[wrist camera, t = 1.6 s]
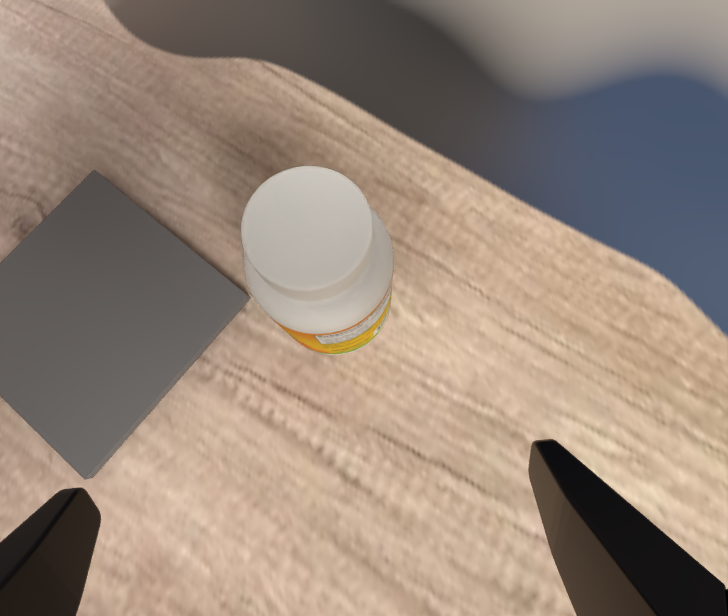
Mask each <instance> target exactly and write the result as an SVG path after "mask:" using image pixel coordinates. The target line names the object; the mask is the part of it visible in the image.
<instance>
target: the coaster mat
mask: <svg viewBox="0 0 728 616" xmlns="http://www.w3.org/2000/svg"><path fill="white" fill-rule="evenodd" d="M249 299H250V297H249V296H248V295H246V294H245V293H244V292H243V291H242V290H240V289H239V288H238V287H237V286H235V285H234V284H233V283H232V282H231V281H229V280H228V279H227V278H226V277H224V276H223V275H222V274H221V273H220V272H218V271H217V270H216V269H215V268H214V267H212V266H211V265H210V264H209V263H207V262H206V261H205V260H204V259H203V258H201V257H200V256H199V255H198V254H196V253H195V252H194V251H193V250H192V249H190V248H189V247H188V246H187V245H185V244H184V243H183V242H182V241H181V240H179V239H178V238H177V237H176V236H175V235H173V234H172V233H171V232H170V231H168V230H167V229H166V228H165V227H164V226H162V225H161V224H160V223H159V222H157V221H156V220H155V219H154V218H153V217H151V216H150V215H149V214H148V213H147V212H145V211H144V210H143V209H142V208H140V207H139V206H138V205H137V204H136V203H134V202H133V201H132V200H131V199H129V198H128V197H127V196H126V195H125V194H123V193H122V192H121V191H120V190H118V189H117V188H116V187H115V186H114V185H112V184H111V183H110V182H109V181H108V180H106V179H105V178H104V177H103V176H101V175H100V174H99V173H98V172H97V171H95V170H93V171H92V172H91V173H90V174H89V175H88V176H87V177H86V178H85V179H84V180H83V181H82V182H81V183H80V184H79V185H78V186H77V187H76V188H75V189H74V190H73V191H72V192H71V193H70V194H69V195H68V196H67V197H66V198H65V199H64V200H63V201H62V202H61V203H60V204H59V205H58V206H57V207H56V208H55V209H54V210H53V211H52V212H51V213H50V214H49V215H48V216H47V217H46V218H45V219H44V220H43V221H42V222H41V223H40V224H39V225H38V226H37V227H36V228H35V229H34V230H33V231H32V232H31V233H30V234H29V235H28V236H27V237H26V238H25V239H24V240H23V241H22V242H21V243H20V244H19V245H18V246H17V247H16V248H15V249H14V250H13V251H12V252H11V253H10V254H9V255H8V256H7V257H6V258H5V259H4V260H3V261H2V262H1V263H0V396H1V397H2V398H3V399H4V400H5V401H6V402H7V403H8V404H9V405H10V406H11V407H12V408H13V409H14V410H15V411H16V412H17V413H18V414H19V415H20V416H21V417H22V418H23V419H24V420H25V421H26V422H27V423H28V424H29V425H30V426H31V427H32V428H33V429H34V430H35V431H36V432H37V433H38V434H39V435H40V436H41V437H42V438H43V439H44V440H45V441H46V442H47V443H48V444H49V445H50V446H51V447H52V448H53V449H54V450H56V451H57V452H58V453H59V454H60V455H61V456H62V457H63V458H64V459H65V460H66V461H67V462H68V463H69V464H70V465H71V466H72V467H73V468H74V469H75V470H76V471H77V472H78V473H79V474H80V475H81V476H82V477H83V478H84V479H89V478H93V477H94V476H95V474H96V473H97V472H98V471H99V470H100V469H101V468H102V467H103V465H104V464H105V463H106V462H107V461H108V460H109V459H110V457H111V456H112V455H113V454H114V453H115V452H116V451H117V449H118V448H119V447H120V446H121V445H122V444H123V443H124V441H125V440H126V439H127V438H128V437H129V436H130V435H131V434H132V432H133V431H134V430H135V429H136V428H137V427H138V426H139V424H140V423H141V422H142V421H143V420H144V419H145V418H146V416H147V415H148V414H149V413H150V412H151V411H152V410H153V409H154V407H155V406H156V405H157V404H158V403H159V402H160V401H161V399H162V398H163V397H164V396H165V395H166V394H167V393H168V391H169V390H170V389H171V388H172V387H173V386H174V385H175V383H176V382H177V381H178V380H179V379H180V378H181V377H182V376H183V374H184V373H185V372H186V371H187V370H188V369H189V368H190V366H191V365H192V364H193V363H194V362H195V361H196V360H197V358H198V357H199V356H200V355H201V354H202V353H203V352H204V350H205V349H206V348H207V347H208V346H209V345H210V344H211V343H212V341H213V340H214V339H215V338H216V337H217V336H218V335H219V333H220V332H221V331H222V330H223V329H224V328H225V327H226V325H227V324H228V323H229V322H230V321H231V320H232V319H233V317H234V316H235V315H236V314H237V313H238V312H239V311H240V310H241V308H242V307H243V306H244V305H245V304H246V303H247V302H248V300H249Z"/></svg>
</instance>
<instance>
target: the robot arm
mask: <svg viewBox="0 0 728 616" xmlns="http://www.w3.org/2000/svg"><path fill="white" fill-rule="evenodd" d="M529 478H530V482H531V485H532V488H533V492H534V495H535V499H536V502H537V505H538V509H539V512H540V516H541V519H542V523H543V526H544V529H545V533H546V536H547V540H548V543H549V546H550V549H551V553H552V556H553V558H554V561H555V564H556V566H557V569H558V571H559V574H560V576H561V578H562V581H563V583H564V586H565V588H566V591H567V593H568V595H569V598H570V600H571V603H572V605H573V608H574V610H575V612H576V615H577V616H728V589H726V587H725V585H724V584H723V583H722V582H721V581H720V580H719V579H717V578H716V577H715V576H714V575H713V574H712V573H710V572H709V571H708V570H707V569H706V568H705V567H703V566H702V565H701V564H700V563H699V562H698V561H696V560H695V559H694V558H693V557H692V556H690V555H689V554H688V553H687V552H686V551H685V550H683V549H682V548H681V547H680V546H679V545H678V544H676V543H675V542H674V541H673V540H672V539H671V538H669V537H668V536H667V535H666V534H665V533H664V532H662V531H661V530H660V529H659V528H658V527H657V526H655V525H654V524H653V523H652V522H651V521H650V520H648V519H647V518H646V517H645V516H644V515H643V514H641V513H640V512H639V511H638V510H637V509H636V508H634V507H633V506H632V505H631V504H630V503H628V502H627V501H626V500H625V499H624V498H623V497H621V496H620V495H619V494H618V493H617V492H616V491H614V490H613V489H612V488H611V487H610V486H609V485H607V484H606V483H605V482H604V481H603V480H602V479H600V478H599V477H598V476H597V475H596V474H595V473H593V472H592V471H591V470H590V469H589V468H588V467H586V466H585V465H584V464H583V463H582V462H581V461H579V460H578V459H577V458H576V457H575V456H573V455H572V454H571V453H570V452H569V451H568V450H566V449H565V448H564V447H563V446H562V445H561V444H559V443H558V442H557V441H555V440H553V439H545V440H536V441H534V442H533V443H532V446H531V453H530V460H529ZM100 523H101V515H100V511H99V509H98V508H97V506H96V505H95V503H94V502H93V500H92V499H91V497H90V495H89V494H88V492H87V491H86V490H85V489H83V488H71V489H64V490H61V491H59V492H58V493H56V494H55V495H54V496H53V497H52V498H51V499H49V500H48V501H47V502H46V503H45V504H44V505H43V506H41V507H40V508H39V509H38V510H37V511H36V512H35V513H33V514H32V515H31V516H30V517H29V518H28V519H27V520H25V521H24V522H23V523H22V524H21V525H20V526H19V527H17V528H16V529H15V530H14V531H13V532H12V533H11V534H9V535H8V536H7V537H6V538H5V539H4V540H3V541H1V542H0V616H76V613H77V610H78V607H79V604H80V601H81V598H82V594H83V591H84V587H85V583H86V579H87V575H88V571H89V567H90V563H91V559H92V555H93V551H94V547H95V543H96V539H97V536H98V532H99V528H100Z"/></svg>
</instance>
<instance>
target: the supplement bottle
mask: <svg viewBox="0 0 728 616" xmlns="http://www.w3.org/2000/svg"><path fill="white" fill-rule="evenodd" d="M241 239H242V245H243V248H244V272H245V277H246V281H247V284H248V287H249V289H250V292H251V294H252V295H253V297H254V299H255V301H256V302H257V303H258V304H259V306H260V307H261V308H262V310H263V311H264V312H265V313H266V314H267V315H268V316H269V317H270V318H272V319H273V320H274V321H275V322H276V323H277V324H278V325H279V326H280V327H282V328H283V329H284V330H285V331H286V332H287V333H288V334H289V335H290V336H292V337H293V338H294V339H295V340H296V341H297V342H299V343H300V344H301V345H303V346H304V347H306V348H308V349H310V350H312V351H315V352H317V353H321V354H326V355H341V354H347V353H350V352H354V351H356V350H358V349H361V348H362V347H364V346H366V345H367V344H368V343H370V342H371V341H372V340H373V339H374V338H375V337H376V336H377V335H378V333H379V332H380V331H381V329H382V328H383V326H384V324H385V322H386V320H387V317H388V313H389V310H390V303H391V292H392V278H393V268H394V256H393V248H392V243H391V239H390V236H389V233H388V230H387V228H386V226H385V224H384V223H383V221H382V220H381V218H380V217H379V215H378V214H377V213H376V212H375V211H374V209H373V208H371V207H370V206H369V204H368V202H367V200H366V198H365V196H364V195H363V193H362V192H361V190H360V189H359V188H358V187H357V185H356V184H355V183H353V182H352V181H351V180H350V179H348V178H347V177H346V176H344V175H342V174H341V173H339V172H337V171H334V170H332V169H328V168H324V167H319V166H300V167H294V168H291V169H287V170H284V171H282V172H279V173H277V174H275V175H274V176H272V177H270V178H269V179H267V180H266V181H265V182H264V183H263V184H261V185H260V186H259V187H258V189H257V190H256V191H255V192H254V193H253V195H252V196H251V198H250V199H249V201H248V203H247V205H246V207H245V210H244V213H243V217H242V221H241Z"/></svg>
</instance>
